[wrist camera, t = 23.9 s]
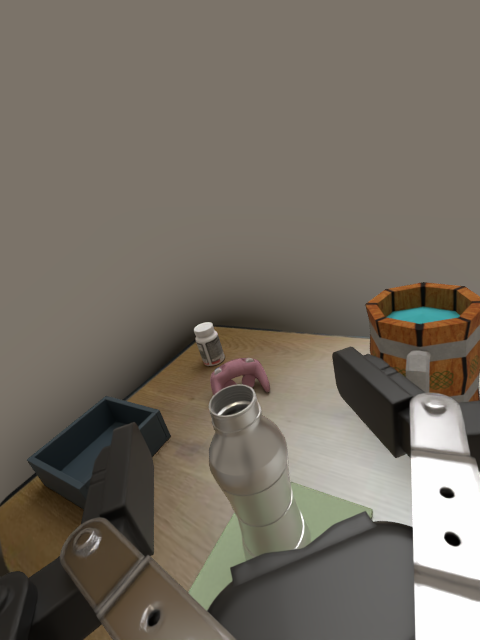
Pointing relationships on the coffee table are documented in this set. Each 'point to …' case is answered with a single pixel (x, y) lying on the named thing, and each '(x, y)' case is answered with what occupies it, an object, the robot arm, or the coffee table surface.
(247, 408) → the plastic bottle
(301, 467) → the coffee table surface
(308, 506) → the mat
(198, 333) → the pill bottle
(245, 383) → the pink curved plastic piece
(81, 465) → the bin
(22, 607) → the robot arm
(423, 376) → the mug
